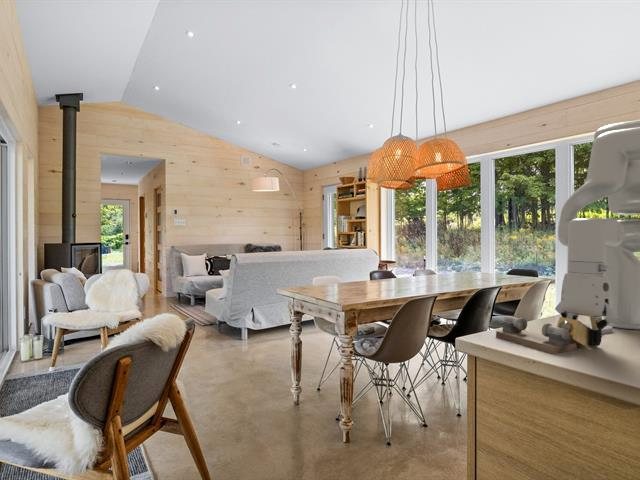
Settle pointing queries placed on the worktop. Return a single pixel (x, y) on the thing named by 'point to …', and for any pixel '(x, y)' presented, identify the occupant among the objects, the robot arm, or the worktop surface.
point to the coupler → (576, 331)
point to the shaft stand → (536, 336)
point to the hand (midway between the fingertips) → (583, 342)
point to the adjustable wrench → (606, 330)
